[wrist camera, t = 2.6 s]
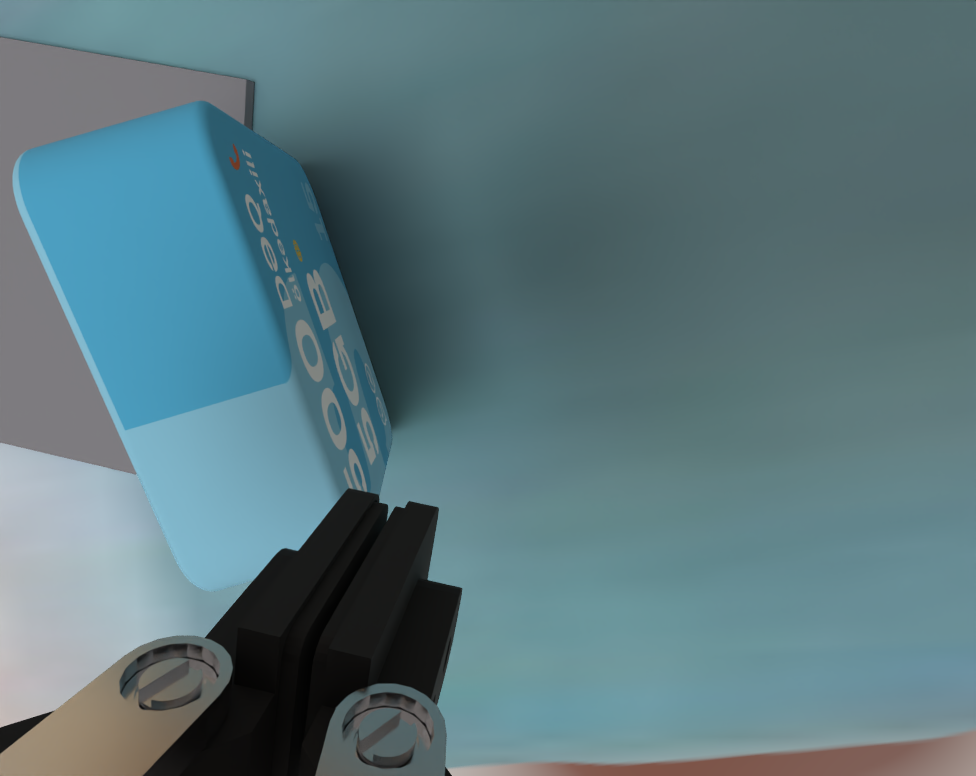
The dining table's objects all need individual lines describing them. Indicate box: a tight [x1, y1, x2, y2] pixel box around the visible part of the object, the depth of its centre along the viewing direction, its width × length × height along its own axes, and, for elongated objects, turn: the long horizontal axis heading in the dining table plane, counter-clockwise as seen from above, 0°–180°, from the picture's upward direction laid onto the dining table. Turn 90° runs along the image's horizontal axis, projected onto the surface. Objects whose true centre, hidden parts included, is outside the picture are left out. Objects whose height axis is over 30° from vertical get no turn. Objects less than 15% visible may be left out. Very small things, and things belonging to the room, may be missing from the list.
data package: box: [13, 101, 392, 591], centre depth 20 cm, size 12×4×12 cm, turn 16°
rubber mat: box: [0, 37, 254, 474], centre depth 27 cm, size 14×18×1 cm
